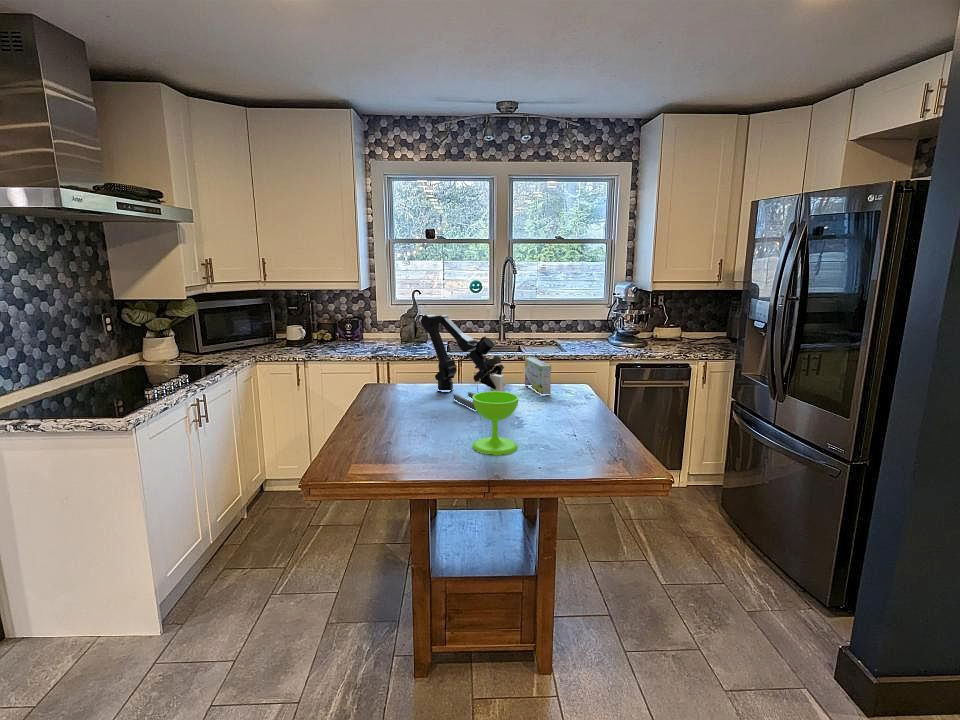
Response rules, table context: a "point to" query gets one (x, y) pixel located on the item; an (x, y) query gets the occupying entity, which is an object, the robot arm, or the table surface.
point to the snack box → (538, 375)
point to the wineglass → (495, 420)
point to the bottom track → (465, 400)
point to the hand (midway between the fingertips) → (499, 387)
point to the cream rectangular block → (498, 382)
